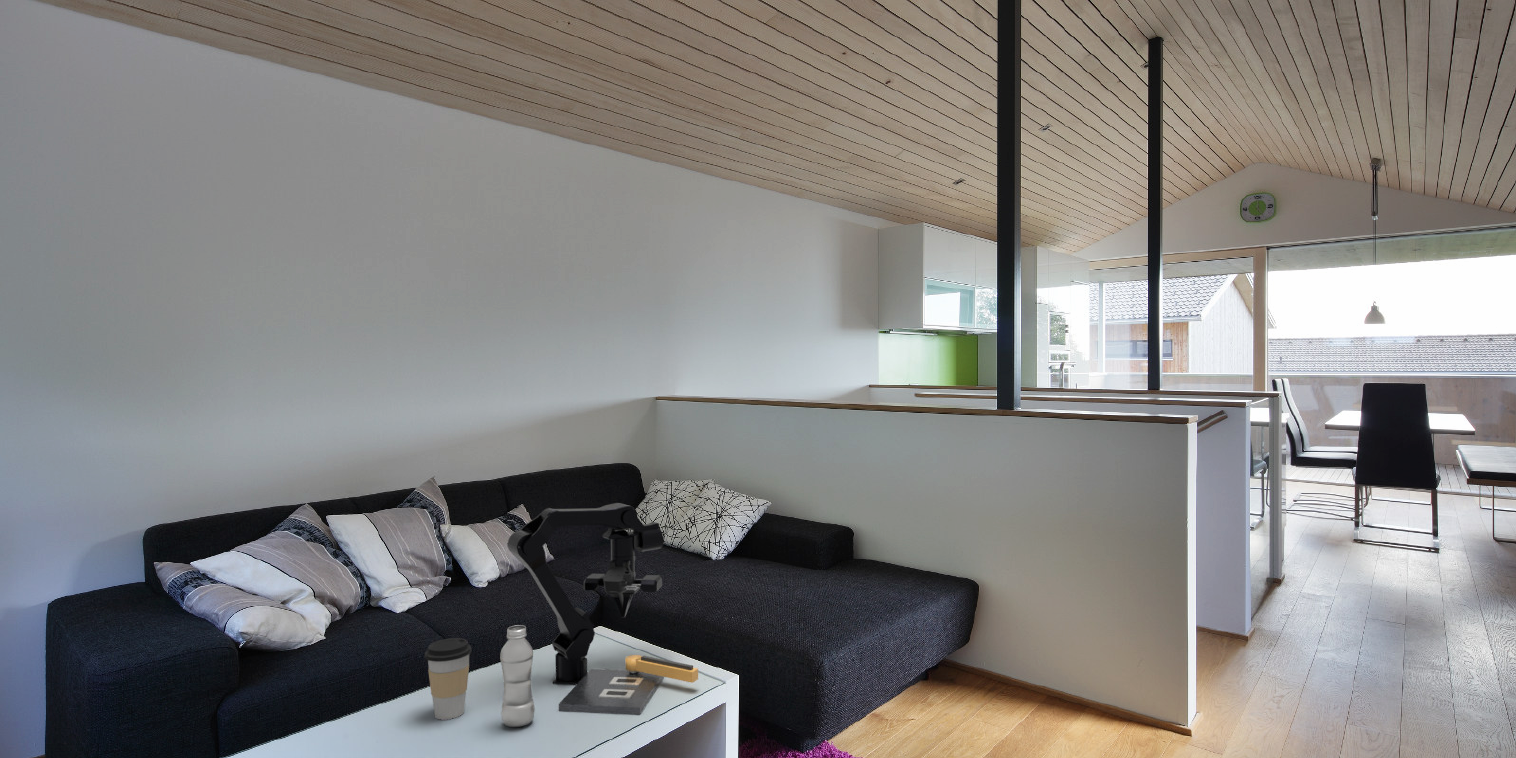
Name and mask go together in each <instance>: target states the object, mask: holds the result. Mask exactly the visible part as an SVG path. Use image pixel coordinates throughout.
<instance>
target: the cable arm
mask: <svg viewBox="0 0 1516 758" xmlns="http://www.w3.org/2000/svg"><path fill="white" fill-rule="evenodd" d="M624 658H625V661H624V662H625V670H628V671H639V672H644V673H649V674H653V675H658V676H663V677H664V678H669V679H673V680H678V681H681V682H686V683H691V684H692V683H695V682H697V681H698V680H699V668H696V667H694V665H692V664H687V663H682V662H678V661H677V662H676V661H672V660H667V659H663V658H658V657H653V656H647V655H639V654H631V655H627V656H626V657H624Z"/></svg>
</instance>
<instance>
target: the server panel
mask: <svg viewBox="0 0 1516 758" xmlns="http://www.w3.org/2000/svg"><path fill="white" fill-rule="evenodd" d="M587 672H588V673H587V674H586V675H585V676H584V677H583V678H582V679H581V680H580V681H579V683H578V684H575V686H574V687H573V688H572V689H571V690H570V691H569V692H568V693H567V695H565V696H564V698H563V699H562V700H561V701H560V702H559V703H558V711H559V712H574V713H576V712H577V713H599V714H616V715H617V714H618V715H634V716H635V715H638V716H640V715H641V713H642V712H643V711H644V709H645V708H646V706H647V705H646V704H648V703H649V702H650V700H651V699H652V697H653V696H654V694H655V692H656V691H657V689H658V688H659V686H660V685H661V684H662V681H663V680H664V678H665V677H663V676H658V675H653V674H649V673H644V672H639V671H628V670H626V669H604V668H590V669H589V670H588V671H587ZM644 707H645V708H644Z"/></svg>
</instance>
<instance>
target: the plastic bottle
mask: <svg viewBox="0 0 1516 758" xmlns="http://www.w3.org/2000/svg"><path fill="white" fill-rule="evenodd" d="M506 632H507V633H506V639H507V641H506V642H505V644H504V645H503V647H502V648H501V651H500V655H499V656H500V664H501V670H502V679H503V698H502V704H501V711H500V715H501V721H502V722H503V724H504V726H507V727H509V728H515V727H516V728H518V727H523V726H526V725H529V724H530V723H531V722H532V721H533V719H534V717H535V711H536V709H535V708H536V707H535V702H534V699H533V691H532V690H533V689H532V666H533V657H534V649H533V647H532V646H531V644H530V642H529V641H528V640H527V639H526V637H527V627H526V625H524V624H522V625H521V624H520V625H519V624H517V625H512V626H509V627H508V628H507V630H506Z"/></svg>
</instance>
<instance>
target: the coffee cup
mask: <svg viewBox="0 0 1516 758" xmlns="http://www.w3.org/2000/svg"><path fill="white" fill-rule="evenodd" d="M472 651H473V650H472V646H471V645H470V644H469V642H468V640H467V639H466V638H462V637H449V638H443V639H440V640H436V641H433V642H431V643H430V644H429V645H428V647H427V650H425V653H424V656H423V657H424V659H425V660H427V663H428V670H427V671H428V678H429V687H430V694H431V696H432V703H433V712H434V717H435V719H438V720H440V719H441V721H445V720H447V719H448V720H452V718H453V719H455V718H458V716H459V717H460V715H461V716H463V714H464V713H465V707H466V706H465V705H466V697H467V691H468V684H469V683H468V682H469V680H468V679H469V672H470V671H469V670H470V669H469V668H470V654H471V653H472Z"/></svg>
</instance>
